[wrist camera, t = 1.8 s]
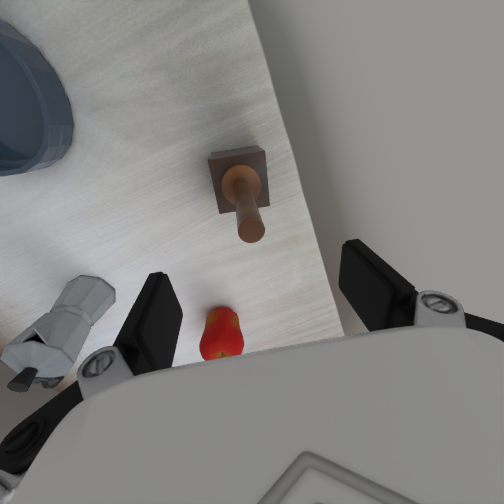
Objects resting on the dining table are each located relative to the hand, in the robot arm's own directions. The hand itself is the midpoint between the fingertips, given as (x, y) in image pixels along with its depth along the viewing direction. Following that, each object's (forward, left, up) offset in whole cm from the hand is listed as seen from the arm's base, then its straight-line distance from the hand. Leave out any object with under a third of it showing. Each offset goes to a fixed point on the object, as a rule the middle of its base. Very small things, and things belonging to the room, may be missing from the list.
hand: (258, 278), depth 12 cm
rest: (0, 0, -26) cm, 26 cm away
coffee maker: (+19, -32, -26) cm, 46 cm away
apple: (+30, -8, -27) cm, 41 cm away
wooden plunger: (0, 0, -19) cm, 19 cm away
